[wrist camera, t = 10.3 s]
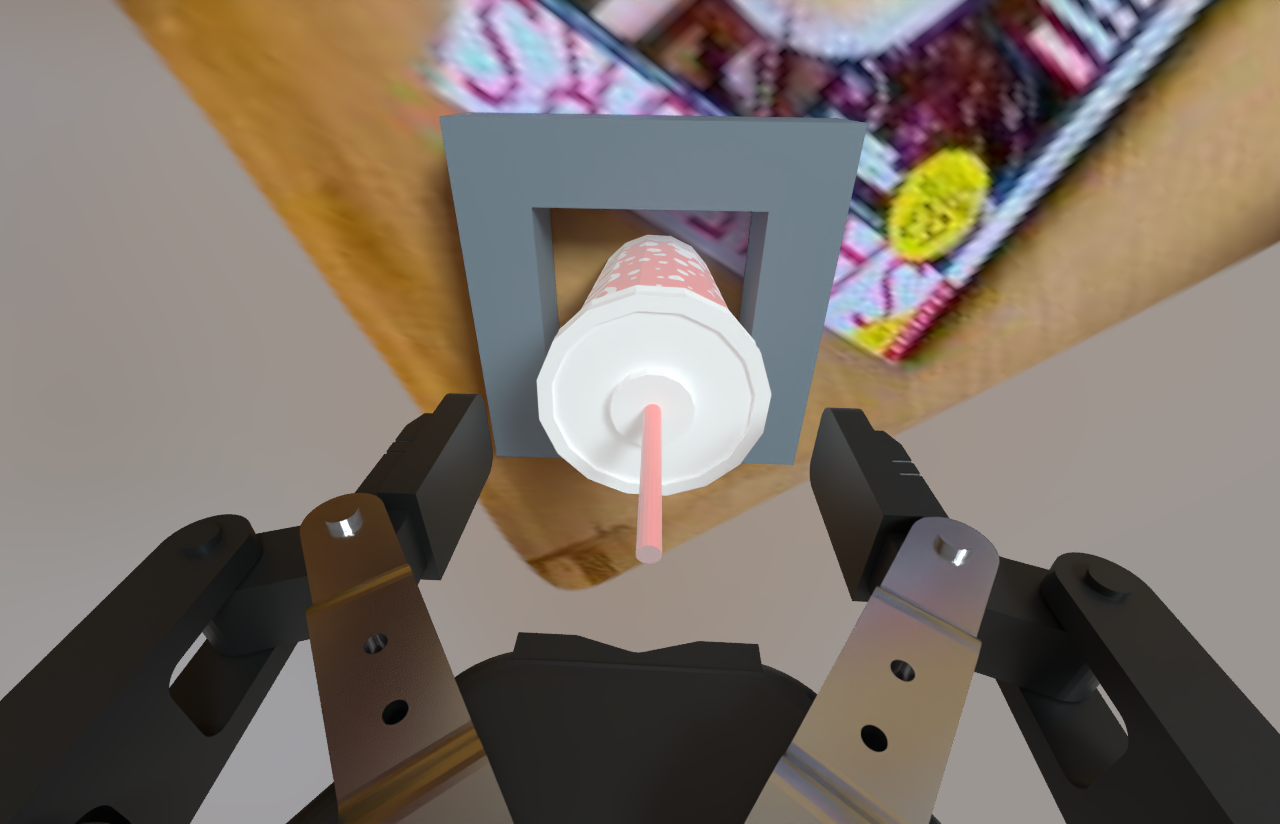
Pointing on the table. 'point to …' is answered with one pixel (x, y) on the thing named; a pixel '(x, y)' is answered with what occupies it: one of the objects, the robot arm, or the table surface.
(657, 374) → the beverage cup
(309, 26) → the table surface
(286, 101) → the table surface
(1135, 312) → the table surface
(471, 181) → the hole plate
